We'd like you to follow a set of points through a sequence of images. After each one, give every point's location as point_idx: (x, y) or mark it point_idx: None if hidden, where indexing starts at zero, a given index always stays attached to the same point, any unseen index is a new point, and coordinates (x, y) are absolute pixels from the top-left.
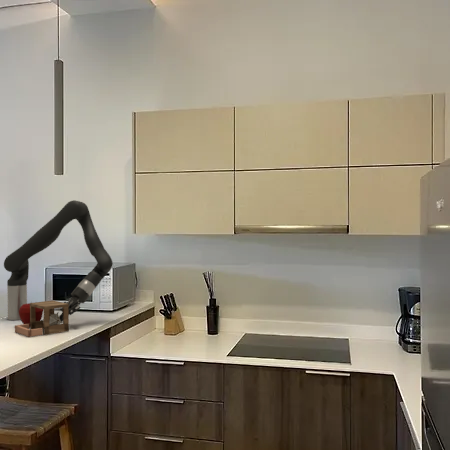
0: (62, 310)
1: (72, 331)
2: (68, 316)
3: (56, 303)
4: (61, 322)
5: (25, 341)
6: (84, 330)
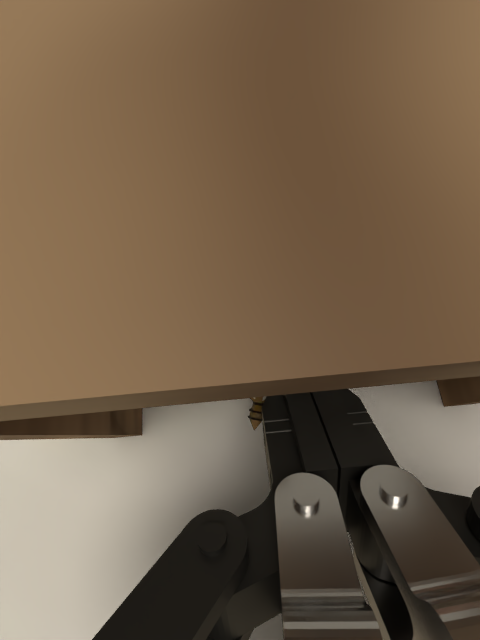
0: (470, 502)
1: (70, 464)
2: (10, 439)
3: (177, 115)
4: (252, 408)
5: None
6: (7, 609)
